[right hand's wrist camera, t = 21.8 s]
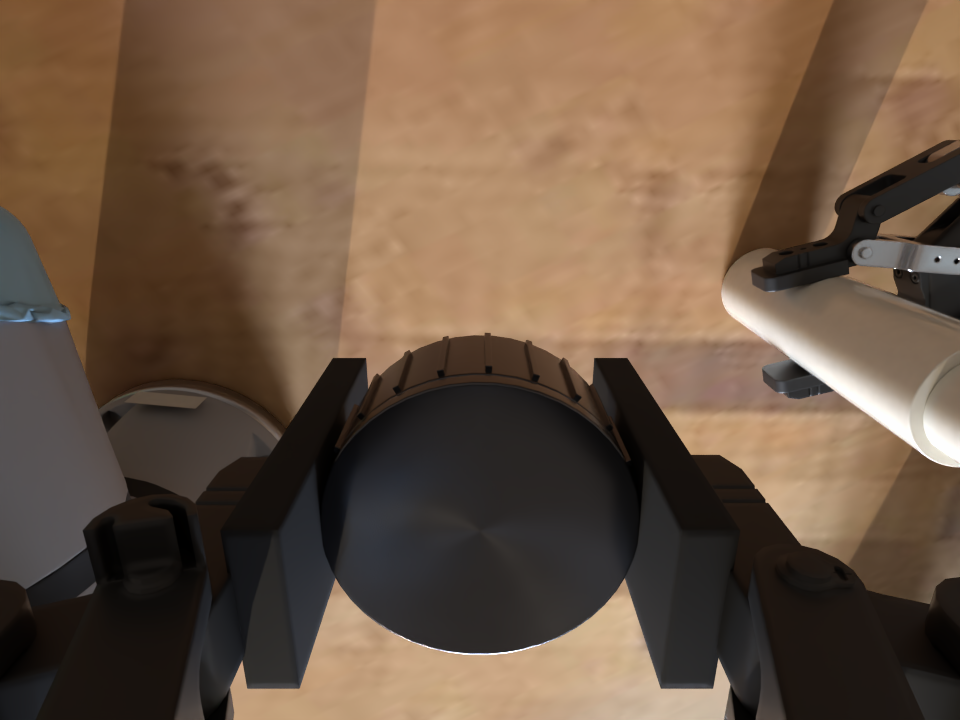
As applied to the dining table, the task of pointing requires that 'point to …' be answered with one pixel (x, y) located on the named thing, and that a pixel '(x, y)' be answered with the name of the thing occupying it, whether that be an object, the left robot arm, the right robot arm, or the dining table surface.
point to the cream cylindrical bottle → (863, 350)
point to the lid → (480, 498)
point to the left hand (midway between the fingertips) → (765, 331)
